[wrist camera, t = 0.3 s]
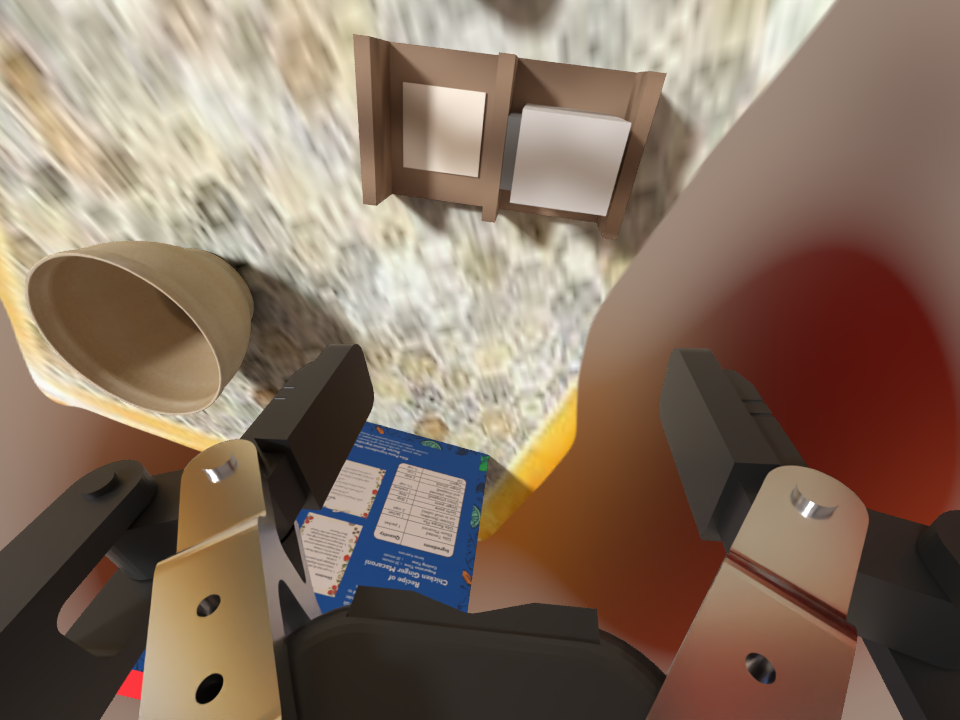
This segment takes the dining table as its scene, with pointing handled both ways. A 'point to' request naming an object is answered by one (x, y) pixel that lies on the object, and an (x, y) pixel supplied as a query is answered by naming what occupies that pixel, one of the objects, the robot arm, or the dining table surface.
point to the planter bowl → (144, 321)
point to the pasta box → (390, 524)
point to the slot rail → (501, 131)
